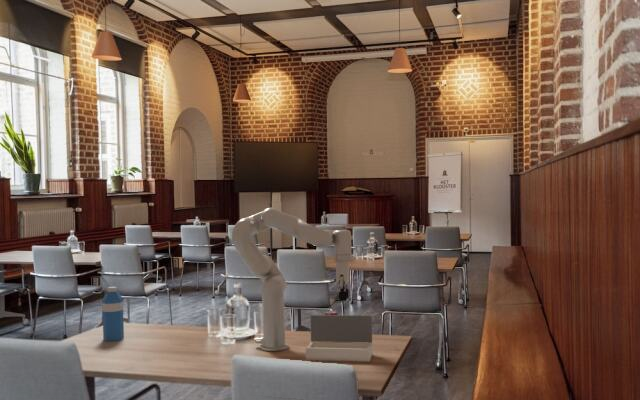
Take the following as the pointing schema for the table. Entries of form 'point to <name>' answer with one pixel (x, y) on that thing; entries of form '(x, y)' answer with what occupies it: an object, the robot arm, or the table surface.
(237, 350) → the table surface
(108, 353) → the table surface
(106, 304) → the water bottle
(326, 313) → the soda can
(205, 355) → the table surface
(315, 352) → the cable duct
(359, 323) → the lid
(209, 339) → the table surface
